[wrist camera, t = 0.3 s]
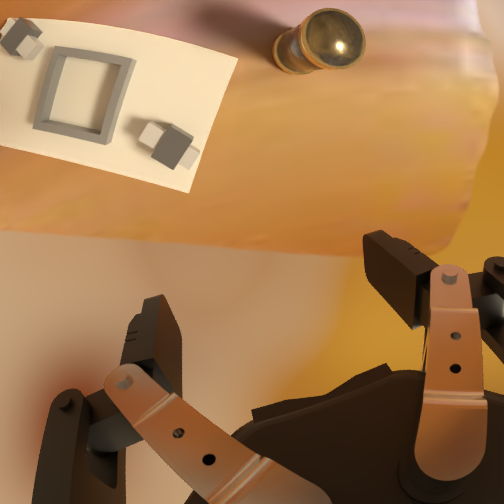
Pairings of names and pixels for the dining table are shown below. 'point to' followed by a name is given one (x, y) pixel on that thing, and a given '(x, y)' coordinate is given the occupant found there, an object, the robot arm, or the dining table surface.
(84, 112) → the stand
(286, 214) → the dining table surface
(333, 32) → the cylinder
